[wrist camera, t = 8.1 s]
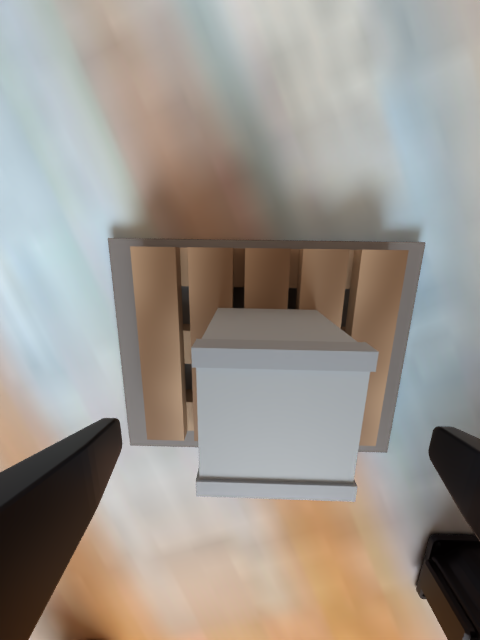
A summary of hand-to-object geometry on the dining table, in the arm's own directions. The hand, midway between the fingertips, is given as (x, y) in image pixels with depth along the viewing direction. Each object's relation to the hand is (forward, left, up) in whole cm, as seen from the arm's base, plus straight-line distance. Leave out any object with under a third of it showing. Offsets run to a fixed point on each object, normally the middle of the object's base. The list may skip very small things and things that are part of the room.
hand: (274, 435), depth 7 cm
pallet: (0, 0, -9) cm, 9 cm away
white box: (0, 0, -7) cm, 7 cm away
